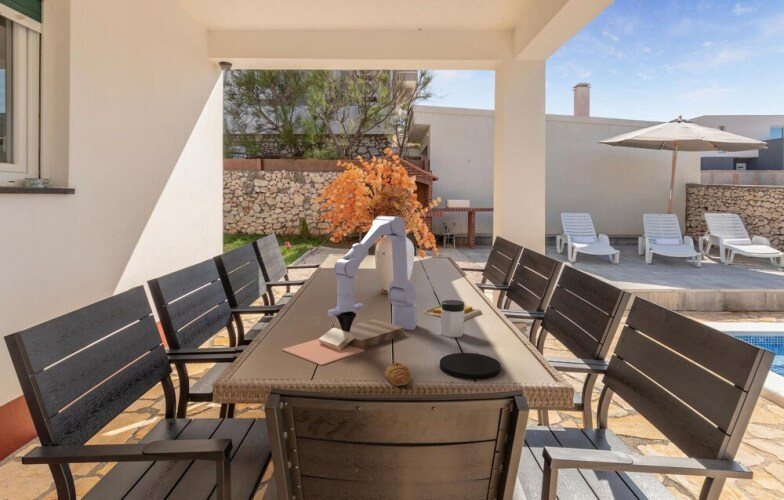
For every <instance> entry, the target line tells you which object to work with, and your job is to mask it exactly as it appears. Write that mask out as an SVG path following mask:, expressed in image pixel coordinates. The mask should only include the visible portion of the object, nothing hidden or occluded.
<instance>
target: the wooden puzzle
mask: <svg viewBox="0 0 784 500" xmlns="http://www.w3.org/2000/svg"><path fill="white" fill-rule="evenodd" d="M464 309H465V311H464V322H465V321H468V320H471V319H473V318H476V317H478V316H481V315H482V313H483V311H482V310H480V309H478V308H473V306H468V305H467V306H465V305H464ZM441 310H442V304H440V305H437V306H433V307H431V308H428V309H425V311H424V312H425V313H424V314H425V315H427V316H432V317H437V318H441Z"/></svg>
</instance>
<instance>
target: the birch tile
mask: <svg viewBox="0 0 784 500" xmlns="http://www.w3.org/2000/svg"><path fill="white" fill-rule="evenodd" d="M318 339H319V342H320V344H322V345H325V346H328V347H331V348H333V349H336V350H341V349H342V348H343V347H344V346H346V345H347V344H348V343H349V342H350V341H352V340H353V339H354V336H353V334H352V333H349V332H346V331H343V330H340V329H338V328H336V327H332V328H331V329H329V330H328V331H327V332H325V333H324V334H323V335H322V336H320V337H319V338H318Z"/></svg>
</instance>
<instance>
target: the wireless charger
mask: <svg viewBox="0 0 784 500" xmlns="http://www.w3.org/2000/svg"><path fill="white" fill-rule="evenodd" d="M501 368H502V366H501V363H500V361H498V359H495V358H494V357H491V356H489V355H484V354H481V353H475V352H474V353H473V352H457V353H450V354H446V355H444V356H443V357H441V358H440V360H439V369H440V371H441V372H442V373H444V374H445V375H447V376H450V377H453V378H457V379H461V380H468V381H483V380H489V379H492V378H493V379H494V378H495V377H498V376H499V375H500V374H501Z"/></svg>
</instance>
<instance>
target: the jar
mask: <svg viewBox="0 0 784 500" xmlns="http://www.w3.org/2000/svg"><path fill="white" fill-rule="evenodd" d="M441 305H442V310H441V317H440V335H441V336H443V337H446V338H461V337H463V335H464V334H465V321H464V311H465V309H464V306H465V302H464V301H462V300H458V299H448V300H447V299H446V300H443V301H441Z"/></svg>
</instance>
